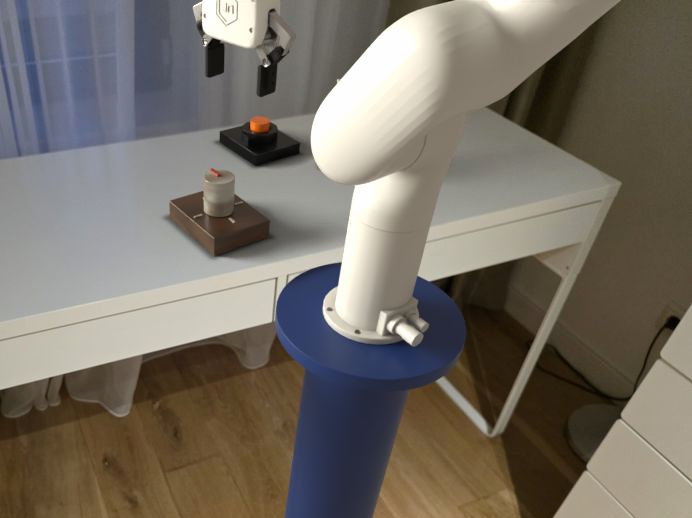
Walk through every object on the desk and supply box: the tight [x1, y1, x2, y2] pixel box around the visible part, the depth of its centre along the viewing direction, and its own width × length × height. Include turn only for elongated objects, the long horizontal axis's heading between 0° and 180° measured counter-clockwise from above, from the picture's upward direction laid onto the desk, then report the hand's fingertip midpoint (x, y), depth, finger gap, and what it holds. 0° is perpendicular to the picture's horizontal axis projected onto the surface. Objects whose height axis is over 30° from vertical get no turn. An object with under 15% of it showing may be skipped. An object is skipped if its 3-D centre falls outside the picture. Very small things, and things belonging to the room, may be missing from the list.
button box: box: [218, 120, 301, 167], centre depth 122 cm, size 12×10×4 cm
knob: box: [203, 167, 236, 217], centre depth 98 cm, size 5×5×6 cm
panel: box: [168, 190, 271, 257], centre depth 101 cm, size 13×10×3 cm
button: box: [249, 116, 271, 132], centre depth 121 cm, size 4×4×2 cm
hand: (239, 84), depth 91 cm, fingers open, 9 cm apart
